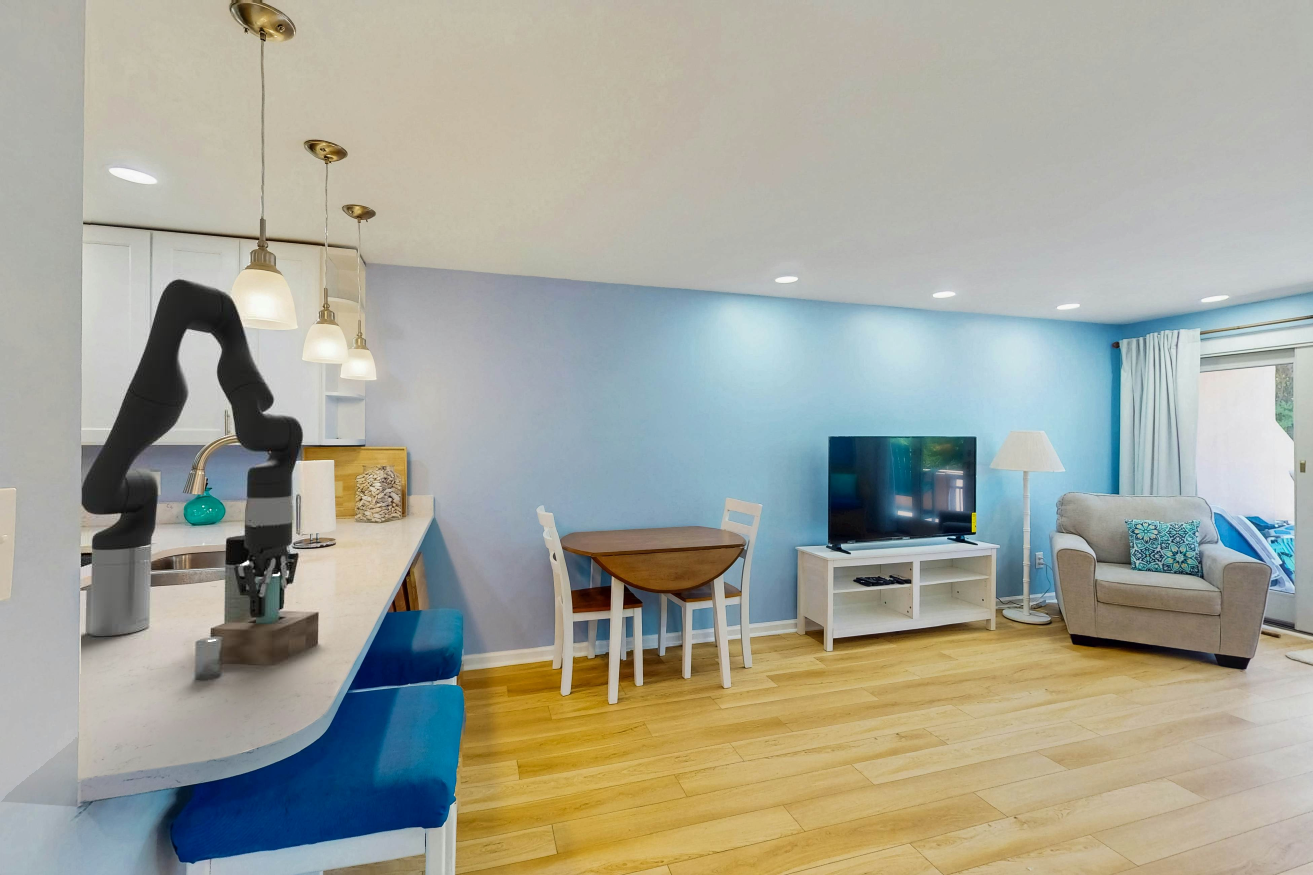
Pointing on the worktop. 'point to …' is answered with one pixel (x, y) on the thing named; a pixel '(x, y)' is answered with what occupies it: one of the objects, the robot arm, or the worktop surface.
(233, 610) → the spray can
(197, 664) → the short pin
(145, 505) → the robot arm
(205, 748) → the worktop surface
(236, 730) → the worktop surface
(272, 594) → the long pin
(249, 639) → the socket block
